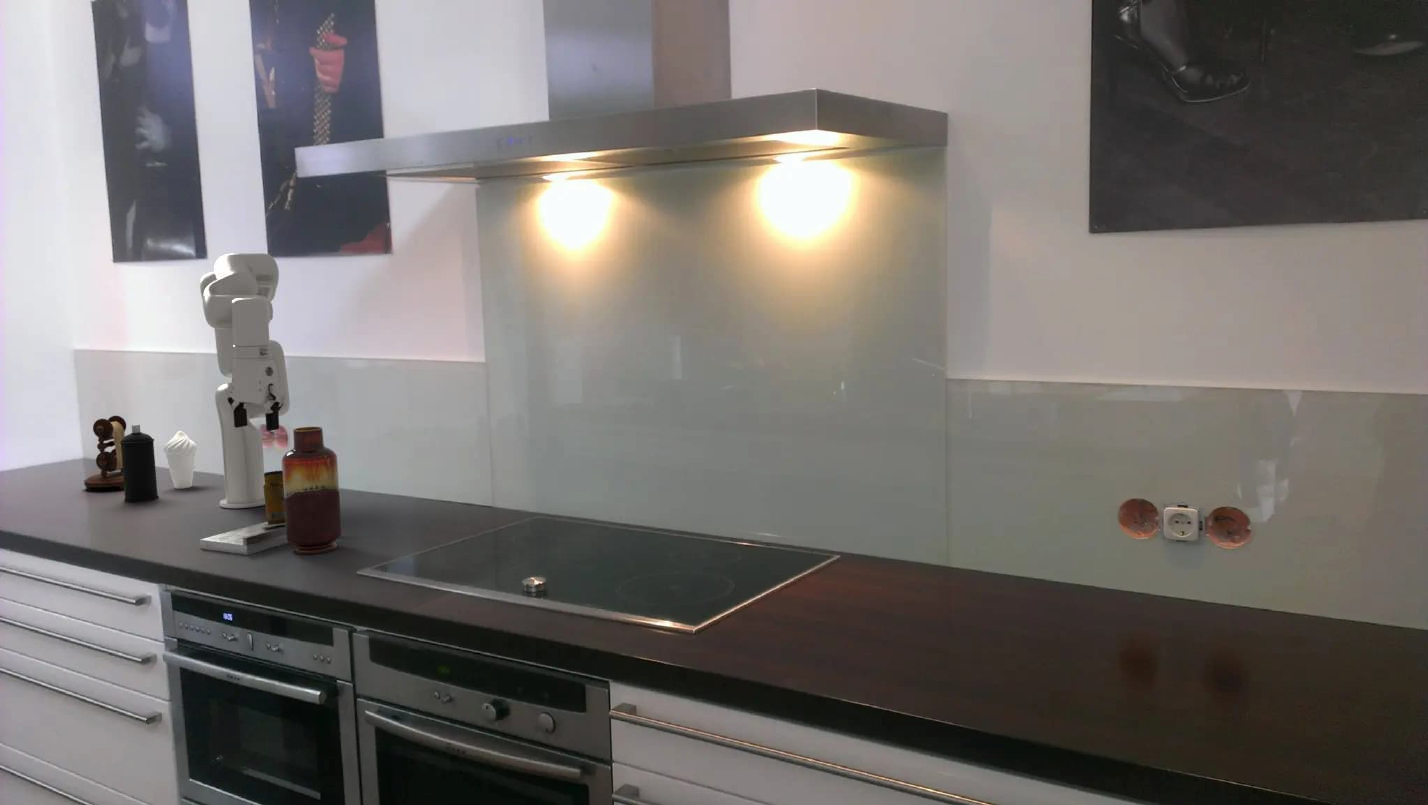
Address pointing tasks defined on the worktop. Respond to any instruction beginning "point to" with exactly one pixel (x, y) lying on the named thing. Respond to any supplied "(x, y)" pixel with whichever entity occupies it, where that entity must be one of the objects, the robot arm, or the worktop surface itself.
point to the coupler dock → (247, 539)
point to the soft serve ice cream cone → (181, 459)
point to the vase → (311, 493)
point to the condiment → (274, 497)
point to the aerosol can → (138, 466)
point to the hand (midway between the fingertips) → (256, 428)
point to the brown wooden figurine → (108, 453)
